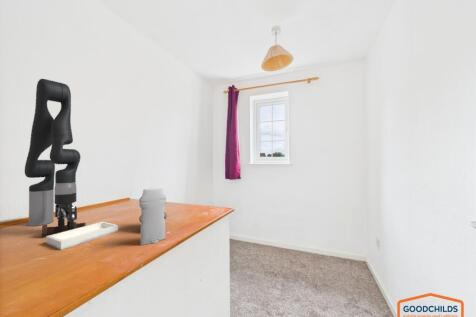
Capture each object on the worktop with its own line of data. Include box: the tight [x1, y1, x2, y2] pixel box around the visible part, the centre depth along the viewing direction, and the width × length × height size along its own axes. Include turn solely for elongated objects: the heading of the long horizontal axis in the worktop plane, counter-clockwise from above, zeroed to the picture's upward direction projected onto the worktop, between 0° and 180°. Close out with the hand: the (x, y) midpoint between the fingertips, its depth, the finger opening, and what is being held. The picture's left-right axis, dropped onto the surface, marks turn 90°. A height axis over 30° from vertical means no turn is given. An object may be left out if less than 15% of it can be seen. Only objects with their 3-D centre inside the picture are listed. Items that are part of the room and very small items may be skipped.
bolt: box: [40, 221, 87, 238], centre depth 90 cm, size 6×5×15 cm
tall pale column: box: [139, 186, 167, 246], centre depth 80 cm, size 11×4×22 cm, turn 134°
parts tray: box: [45, 221, 119, 251], centre depth 84 cm, size 12×21×3 cm, turn 153°
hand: (65, 228), depth 89 cm, fingers open, 8 cm apart
